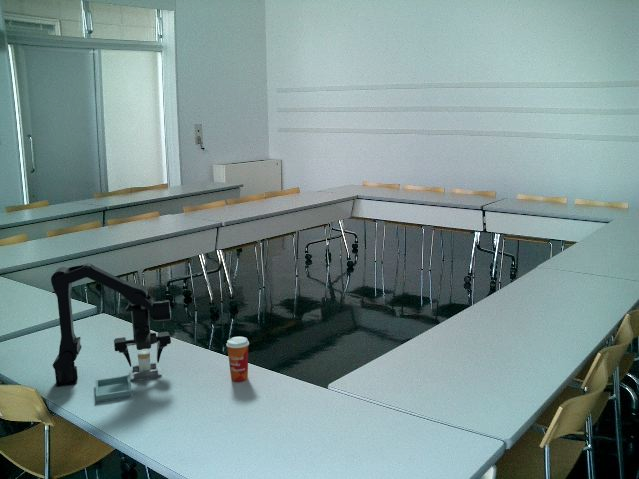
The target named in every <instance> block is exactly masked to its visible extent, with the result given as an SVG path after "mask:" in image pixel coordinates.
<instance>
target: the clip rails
mask: <svg viewBox="0 0 639 479" xmlns="http://www.w3.org/2000/svg"><path fill="white" fill-rule="evenodd" d="M150 363H151V370H147V371H141V372H139V363H138V364H133V365H132V364H131V367H132V369H131V370H129V371H128V373H129V376H130V382H135V381H140V380H141V381H142V380H147V379H148V378H149V379H153V378H154V377H155V378H159V377H160V378H161V376H162V377H163V374H162V370H161V367H160V366H159V365H157V361H153V362H150Z"/></svg>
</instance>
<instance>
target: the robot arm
mask: <svg viewBox="0 0 639 479" xmlns="http://www.w3.org/2000/svg"><path fill="white" fill-rule="evenodd" d="M86 278H87V279H89V280H92V281H94V282H95V283H98V284H100V285H102V286H104V287H106V288H109V289H111V290H112V291H114V292H117V293H118V294H120V295H121V296H122V297H123V298H124V299H125V300H126V301H128V302H129V303H128V305H127V306H125V309H124V311H125V312H131V313H130V314H131V322H132V323H131V324H132V333H133V334H132V335H133V336H132V337H133V339H127V338H126V336H124V337H123V336H122V337H118V338H117V337H116V338H114V340H113V345H114V351H115V352H118V353H120V354H123V356H124V357H125V359H126V360H127V363H128V365H129V367H132V361H131V356H130V353H129V348H128V346H135V347H136V350H138V351H141V350H146V349H147V350H150V349H151V348H152V345H155V344H157V345H156V364H158V363H159V362H160V360H161V359H160V358H161V354H162V352H163V349H165V347H167V346H168V345H170V344H172V341H171V340H172V339H171V335H170V333H169V331H163V332H157V333H156V332H151V326H150V325H151V324H150V319H152V321H154V322H159V321H160V322H161V321H171V320H172V307H171V305H170V304H171V303H170V300H169V299H164V300H162V301H161V300H159V301H155V299H154V297H152V296H151V294H149V293H148V292H149V291H148V288H147V287H146V285H143V284H140V283H137V282H132V281H126V280H124V279H122V278H120V277H118V276H116V275H114V274H112V273H110V272H107V271H106V270H104V269H101V268H99V267H97V266H95V265H93V264H92V263H90V262H87V263H85V264H80V265H73V266H70V267H65V266H61V267H58V268H57V269H56V270H55V272H54V273H53V274H52V275H51V277H50V283H51V286H52V289H53V292H54V294H55V296H56V298H57V309H58V317H59V327H60V328H59V330H60V341H59V342H60V343H59V348H58V354H57V356H56V358H55V359H54V361H53V363H52V367H53V369H54V376H55V387H63V386H71V385H76V384H77V381H78V380H79V376H78V366H77V365H75V361H76V360H77V357H78V355H79V354H80V353H81V350H82V348H83V347H82V345H81V336H79V337H77V335H76V334H75V328H74V317H73V309H72V297H71V292H72V289H73V288H72V287H73V283H75V282H79V281H80V280H82V279H86ZM149 310H150V311H149Z"/></svg>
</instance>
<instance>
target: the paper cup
mask: <svg viewBox="0 0 639 479" xmlns="http://www.w3.org/2000/svg"><path fill="white" fill-rule="evenodd" d="M226 342H227V343H225V344H226V347H227V354H228V362H229V363H228V364H229V371H230V380H231V381H232V382H234V383H242V382H243V383H244V382H245V381H247V380H248V378H249V345H250V342H249V340H248V338H247V337H244V336H233V337H231V338H229V339H228V340H227V341H226Z"/></svg>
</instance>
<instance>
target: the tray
mask: <svg viewBox="0 0 639 479" xmlns="http://www.w3.org/2000/svg"><path fill="white" fill-rule="evenodd" d="M94 382H95V383H94V385H95V401H96V403H102V402H108V401H114V400H115V401H116V400H121V399H127V398H132V397H133V390H132V389H133V388H132V384H131V379H130V374H127V375H120V376H115V377H114V376H113V377H107V378H100V379H95V380H94Z"/></svg>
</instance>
